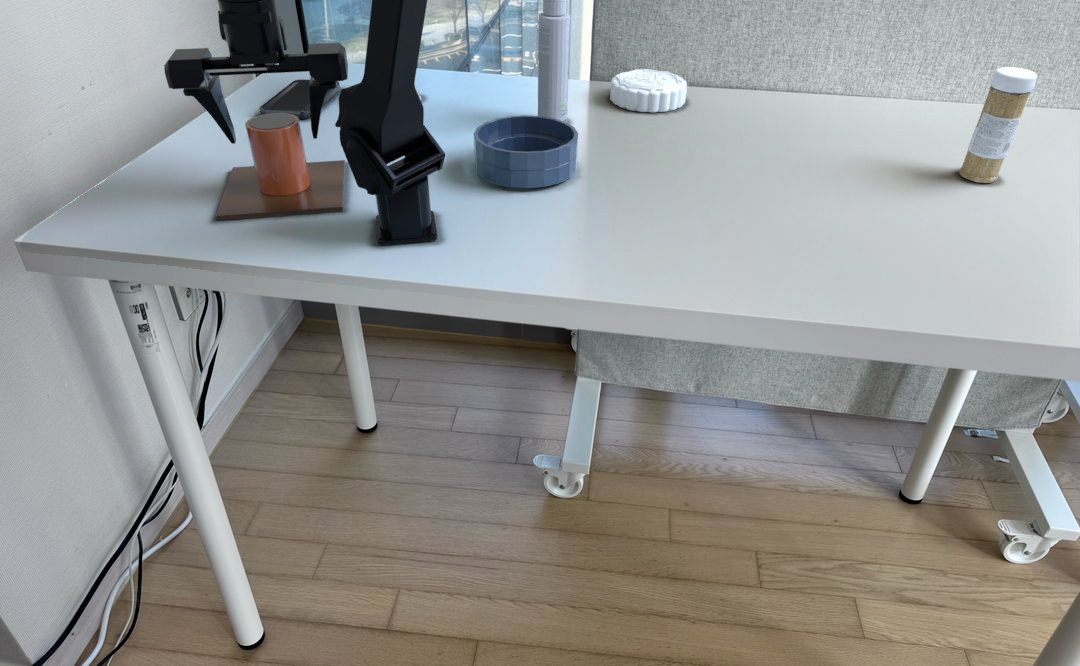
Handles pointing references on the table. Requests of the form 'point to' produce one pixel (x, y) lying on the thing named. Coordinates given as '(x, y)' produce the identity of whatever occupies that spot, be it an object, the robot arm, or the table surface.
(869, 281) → the table surface
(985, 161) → the sprinkles bottle
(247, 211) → the coaster board
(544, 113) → the bottle
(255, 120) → the cup
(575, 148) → the bowl
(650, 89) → the mooncake
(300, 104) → the phone
